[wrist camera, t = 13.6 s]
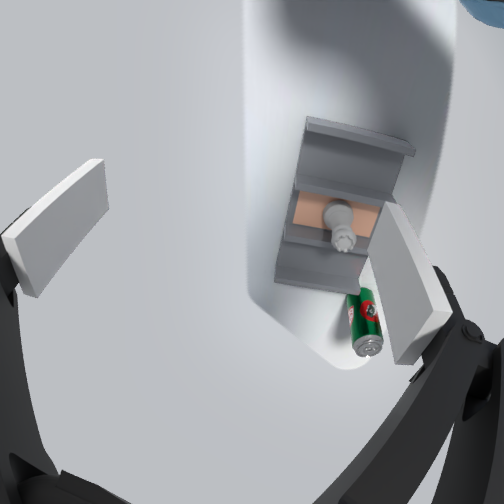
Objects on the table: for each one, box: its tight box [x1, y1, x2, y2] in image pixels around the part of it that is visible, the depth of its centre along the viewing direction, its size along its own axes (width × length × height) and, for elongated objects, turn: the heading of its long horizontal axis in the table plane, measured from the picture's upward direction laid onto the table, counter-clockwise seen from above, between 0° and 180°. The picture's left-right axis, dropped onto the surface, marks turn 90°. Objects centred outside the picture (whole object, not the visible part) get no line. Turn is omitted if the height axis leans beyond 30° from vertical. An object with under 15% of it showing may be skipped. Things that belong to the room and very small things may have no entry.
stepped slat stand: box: [274, 116, 416, 295], centre depth 44 cm, size 25×14×4 cm, turn 173°
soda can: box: [346, 287, 383, 357], centre depth 50 cm, size 5×5×12 cm
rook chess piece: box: [323, 200, 357, 253], centre depth 41 cm, size 4×4×8 cm
